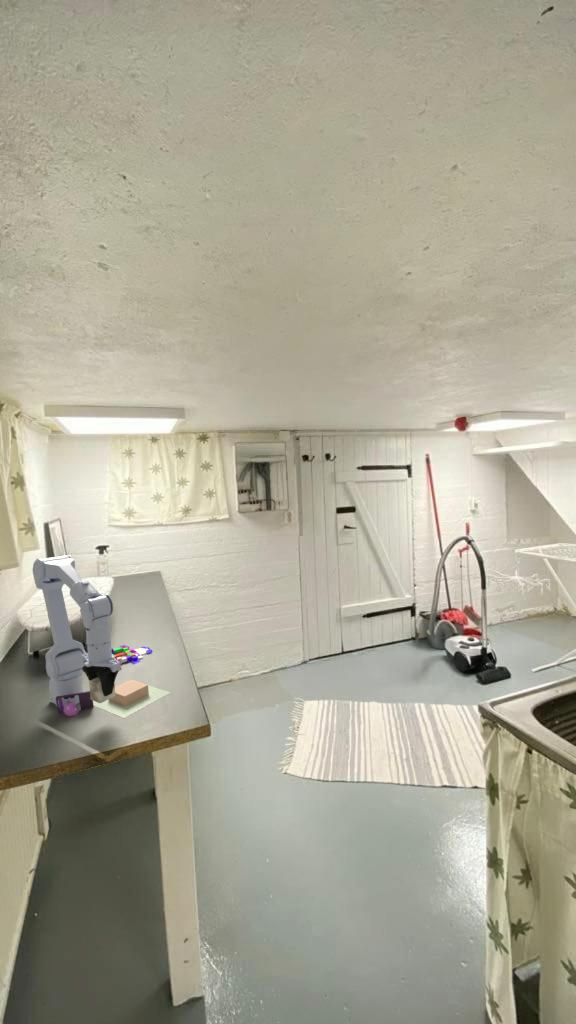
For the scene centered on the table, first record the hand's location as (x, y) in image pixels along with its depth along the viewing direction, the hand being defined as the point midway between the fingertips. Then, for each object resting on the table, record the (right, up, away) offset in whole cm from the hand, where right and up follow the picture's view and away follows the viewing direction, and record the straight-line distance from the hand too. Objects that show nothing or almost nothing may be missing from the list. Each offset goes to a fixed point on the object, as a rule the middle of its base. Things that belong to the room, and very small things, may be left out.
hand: (102, 692), depth 110 cm
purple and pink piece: (-10, -9, +6) cm, 15 cm away
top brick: (0, -1, 0) cm, 1 cm away
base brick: (+2, -7, +13) cm, 15 cm away
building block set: (-14, -8, +49) cm, 51 cm away
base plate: (+2, -8, +13) cm, 16 cm away
